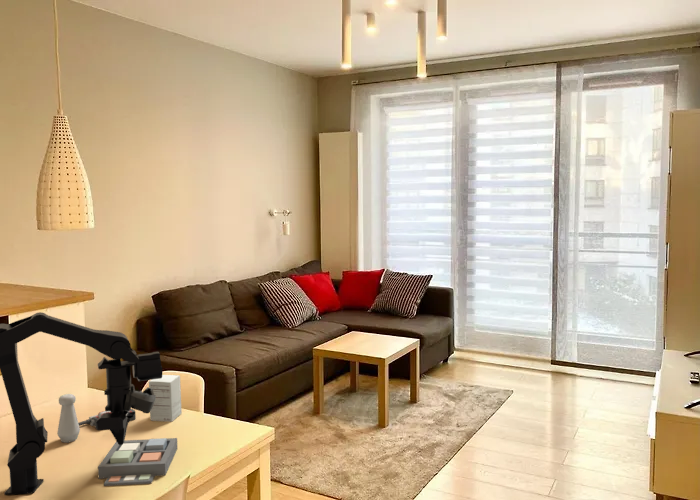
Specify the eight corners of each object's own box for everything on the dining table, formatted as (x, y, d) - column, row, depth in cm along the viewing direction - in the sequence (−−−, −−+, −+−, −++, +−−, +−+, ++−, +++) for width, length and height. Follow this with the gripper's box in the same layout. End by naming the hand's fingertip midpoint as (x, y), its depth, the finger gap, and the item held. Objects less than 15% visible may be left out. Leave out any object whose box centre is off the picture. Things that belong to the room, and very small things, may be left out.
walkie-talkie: (126, 413, 193) (63, 431, 178) (125, 399, 193) (62, 417, 177) (140, 419, 187) (76, 439, 172) (140, 405, 187) (76, 424, 172)
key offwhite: (136, 456, 156) (135, 449, 156) (118, 457, 156) (118, 450, 156) (140, 449, 161) (140, 442, 161) (123, 450, 160) (123, 443, 160)
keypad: (162, 482, 144) (161, 470, 144) (93, 486, 143) (92, 474, 142) (177, 448, 164) (177, 438, 164) (117, 451, 163) (116, 440, 162)
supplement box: (160, 412, 192) (159, 374, 191) (182, 413, 191) (181, 374, 190) (149, 421, 185) (147, 380, 184) (172, 422, 184) (170, 381, 183)
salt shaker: (71, 444, 167) (69, 399, 166) (53, 443, 169) (50, 398, 167) (84, 436, 173) (82, 392, 172) (66, 435, 174) (64, 391, 173)
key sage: (128, 465, 149) (128, 457, 149) (110, 466, 149) (110, 458, 149) (133, 457, 154) (133, 450, 154) (115, 458, 153) (115, 451, 153)
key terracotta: (157, 467, 150) (157, 459, 150) (139, 468, 150) (139, 460, 150) (161, 459, 155) (161, 452, 154) (143, 460, 154) (143, 453, 154)
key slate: (163, 452, 157) (163, 444, 157) (146, 453, 157) (145, 445, 156) (166, 445, 161) (166, 438, 161) (150, 446, 161) (149, 438, 161)
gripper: (143, 394, 141) (145, 458, 143) (159, 371, 160) (161, 428, 161) (94, 396, 140) (96, 460, 142) (116, 373, 159) (118, 430, 160)
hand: (121, 444), depth 151 cm, fingers closed
